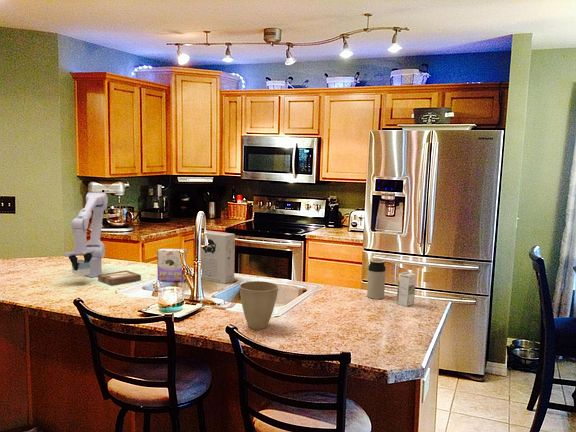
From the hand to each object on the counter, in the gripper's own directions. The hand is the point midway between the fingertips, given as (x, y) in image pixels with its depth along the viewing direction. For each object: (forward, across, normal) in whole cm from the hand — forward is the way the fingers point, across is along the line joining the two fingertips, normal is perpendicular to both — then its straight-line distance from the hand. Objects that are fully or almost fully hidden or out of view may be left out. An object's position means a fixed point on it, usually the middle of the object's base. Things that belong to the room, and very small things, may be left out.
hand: (80, 269), depth 252 cm
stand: (+7, +17, -7) cm, 20 cm away
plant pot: (+7, +20, -106) cm, 108 cm away
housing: (+2, 0, 0) cm, 2 cm away
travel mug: (+7, +90, -114) cm, 145 cm away
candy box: (+7, +37, -24) cm, 45 cm away
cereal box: (+7, +55, -36) cm, 66 cm away
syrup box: (+7, +90, -130) cm, 158 cm away
